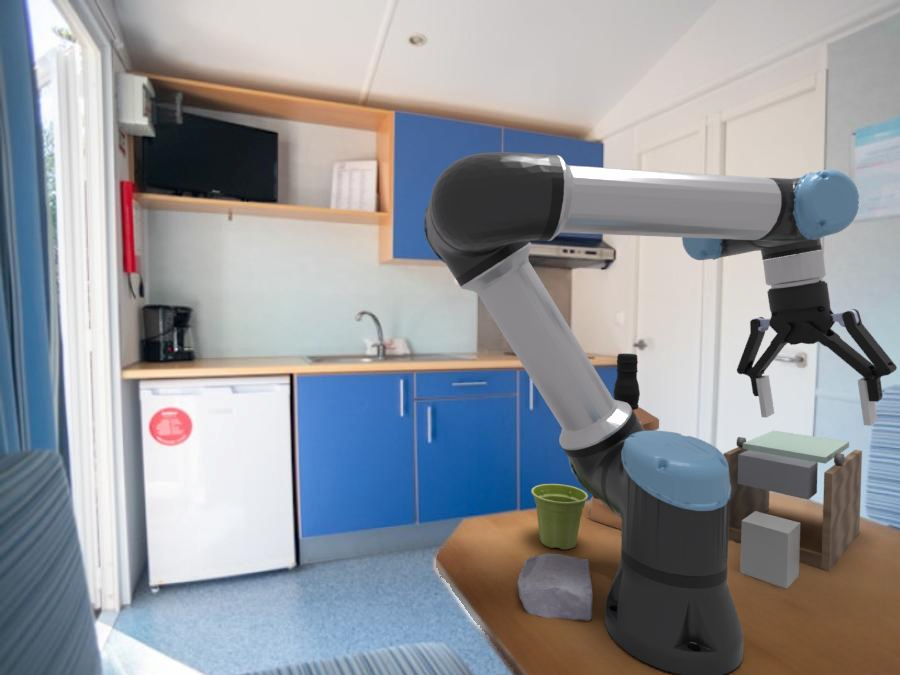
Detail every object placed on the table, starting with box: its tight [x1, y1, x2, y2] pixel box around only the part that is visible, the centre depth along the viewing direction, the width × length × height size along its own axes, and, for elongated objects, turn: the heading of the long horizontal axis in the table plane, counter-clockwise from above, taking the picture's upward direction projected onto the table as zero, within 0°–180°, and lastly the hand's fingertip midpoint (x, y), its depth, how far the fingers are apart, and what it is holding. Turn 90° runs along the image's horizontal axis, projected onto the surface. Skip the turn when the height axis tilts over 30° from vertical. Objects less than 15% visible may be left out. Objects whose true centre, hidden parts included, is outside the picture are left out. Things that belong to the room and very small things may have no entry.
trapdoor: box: [738, 430, 850, 500], centre depth 87 cm, size 22×12×6 cm, turn 131°
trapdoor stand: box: [723, 436, 863, 572], centre depth 88 cm, size 22×15×17 cm
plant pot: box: [531, 483, 589, 551], centre depth 84 cm, size 9×9×9 cm
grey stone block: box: [739, 511, 801, 590], centre depth 74 cm, size 6×6×8 cm
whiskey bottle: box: [588, 353, 660, 531], centre depth 94 cm, size 10×10×32 cm
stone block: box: [517, 552, 594, 622], centre depth 68 cm, size 12×5×10 cm
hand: (815, 419), depth 76 cm, fingers open, 13 cm apart
